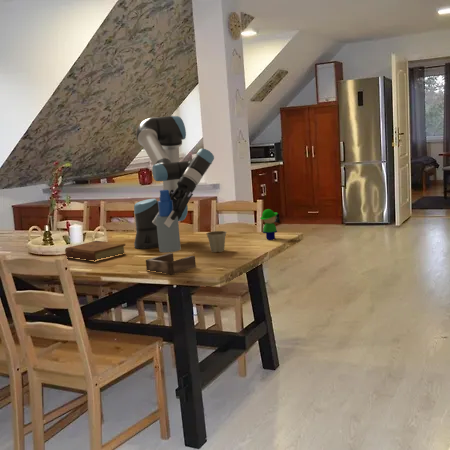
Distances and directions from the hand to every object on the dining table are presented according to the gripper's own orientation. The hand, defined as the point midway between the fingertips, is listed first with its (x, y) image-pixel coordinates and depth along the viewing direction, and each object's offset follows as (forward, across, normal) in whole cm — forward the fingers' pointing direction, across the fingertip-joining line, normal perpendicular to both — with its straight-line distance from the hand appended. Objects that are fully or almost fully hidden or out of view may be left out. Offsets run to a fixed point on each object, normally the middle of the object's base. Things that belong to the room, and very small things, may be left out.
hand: (160, 224), depth 245 cm
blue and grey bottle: (+6, 0, -10) cm, 12 cm away
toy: (-35, +12, -63) cm, 73 cm away
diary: (+16, +57, -12) cm, 61 cm away
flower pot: (-12, +12, -40) cm, 43 cm away
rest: (+11, 0, -16) cm, 20 cm away
